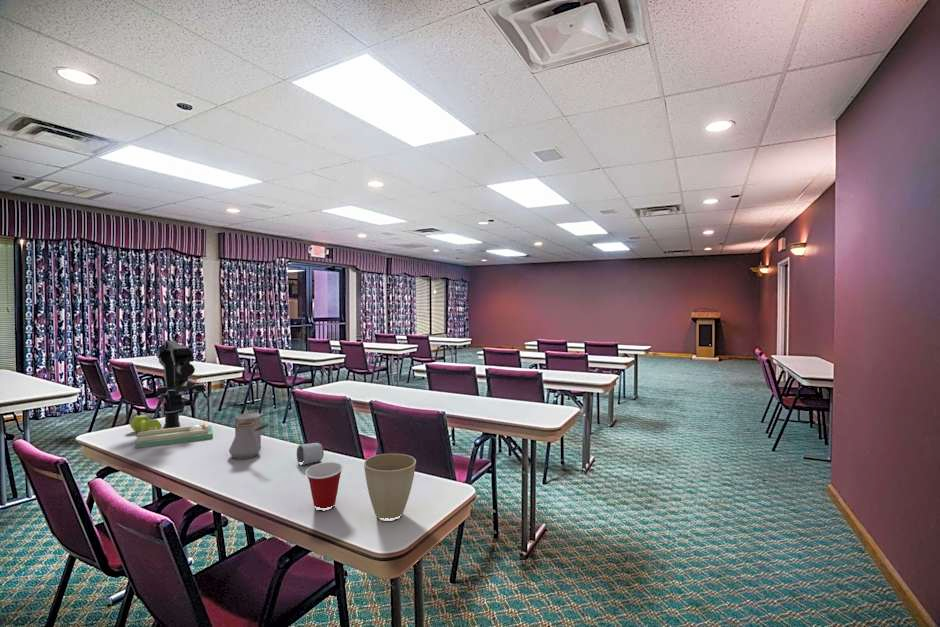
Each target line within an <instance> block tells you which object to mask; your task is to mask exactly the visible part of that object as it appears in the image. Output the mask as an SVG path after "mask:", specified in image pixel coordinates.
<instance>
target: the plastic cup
mask: <svg viewBox="0 0 940 627" xmlns="http://www.w3.org/2000/svg"><path fill="white" fill-rule="evenodd" d="M343 468H344V467H343V464H341V463H339V462H334V461H328V462H327V461H326V462H321V463H316V464H313V465H311V466H310V467H308V468H307V469H306V470H305V472H304V473H305V475H306V477H307V479H308V482H309V488H310V492H311V498H312V500H313V501H312V502H313V503H312V504H313V507H314V506H316V507H320V508H327V507H331V506H333V505H336V501H337V496H338V491H339V490H338V489H339V485H340V484H339V483H340V478H341V475H342V472H343Z"/></svg>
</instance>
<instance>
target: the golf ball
mask: <svg viewBox="0 0 940 627" xmlns="http://www.w3.org/2000/svg"><path fill="white" fill-rule="evenodd" d="M199 425H200V424H196V425H195V424H194V425H192V426H193V427H191V429H190V431H197V430H202V427H201V426H199Z"/></svg>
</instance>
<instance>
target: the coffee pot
mask: <svg viewBox="0 0 940 627" xmlns="http://www.w3.org/2000/svg"><path fill="white" fill-rule="evenodd" d="M253 425H254V423H253V422H242V423H238V424H237V425H236V426H237V427H238V432H237V434H236V436H234V438H233V441H232V443H231V445H230V448H229V450H228V452H229V454H230V455H231V456H232V457H234V458H235V459H236V460H237V459H238V460H245V459H251V458H254V457H255V456H256V455H257V454H258V453H259V452H260V451H261V449H262V444H261V445H260V443H259V441H258V439H257V437H256V435H255V433H254V432H255V431H258V430H263V429H266V430H267V431H269V430H270V428H267V427H269V426H270V427H272V426H271V425H270V424H263V425H261V426H260V427H259V428H257V429H255V430H253V429H252V427H253ZM250 457H251V458H250Z"/></svg>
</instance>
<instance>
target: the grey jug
mask: <svg viewBox="0 0 940 627" xmlns="http://www.w3.org/2000/svg"><path fill="white" fill-rule="evenodd" d="M234 419H235V422H234V428H235V433H234V435H235V436H236V434H237V432H238V427H237V426H236V425H237V424H238V423H242V422H253V423H254V425H253V427H252V429H253V430H255V429H257V428H259V427H260V426H262V424H261V413H259V412H245V413H240V414H239V413H238V414H237V415H235V417H234ZM261 430H262V429H261ZM261 430H258V431H255V432H254V433H255V435H256V437H257V439H258V441H259V443H260V445H261V446H262V443H261V442H262V440H261V438H262V434H261ZM235 436H234V437H235Z"/></svg>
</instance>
